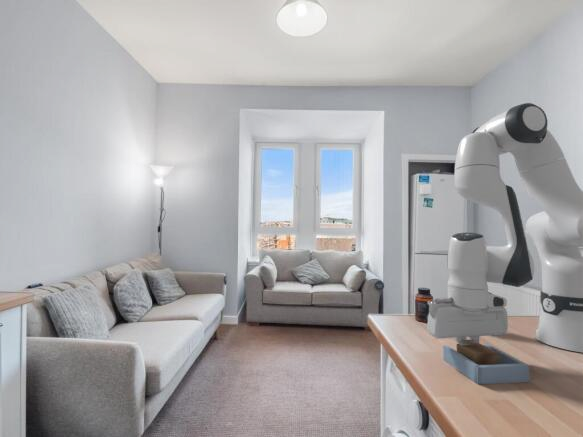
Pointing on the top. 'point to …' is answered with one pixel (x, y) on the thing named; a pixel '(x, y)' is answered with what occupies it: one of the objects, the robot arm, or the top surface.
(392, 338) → the top surface
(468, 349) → the wooden toy wagon
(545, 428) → the top surface
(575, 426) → the top surface
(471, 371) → the bay
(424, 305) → the supplement bottle
